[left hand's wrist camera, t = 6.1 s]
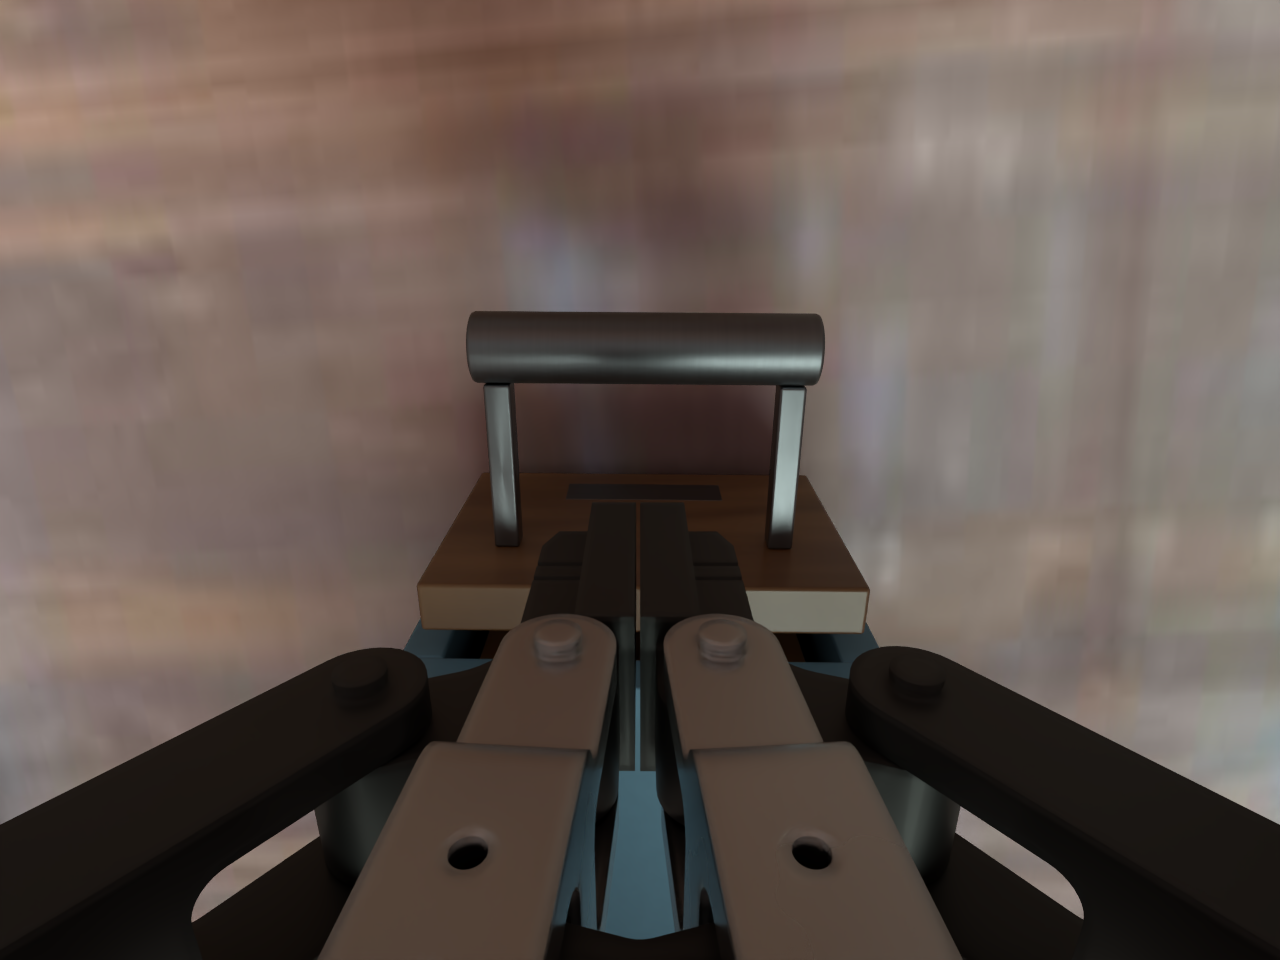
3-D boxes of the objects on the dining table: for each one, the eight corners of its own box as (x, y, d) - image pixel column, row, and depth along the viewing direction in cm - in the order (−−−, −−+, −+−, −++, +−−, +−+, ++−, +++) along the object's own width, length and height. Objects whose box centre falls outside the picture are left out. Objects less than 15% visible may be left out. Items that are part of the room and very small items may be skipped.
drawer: (467, 285, 20) (383, 328, 14) (824, 287, 20) (908, 332, 14) (516, 917, 29) (480, 1120, 23) (763, 920, 29) (796, 1124, 23)
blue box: (474, 513, 24) (382, 685, 16) (813, 517, 24) (902, 690, 16) (511, 948, 32) (462, 1219, 23) (768, 951, 32) (812, 1224, 23)
